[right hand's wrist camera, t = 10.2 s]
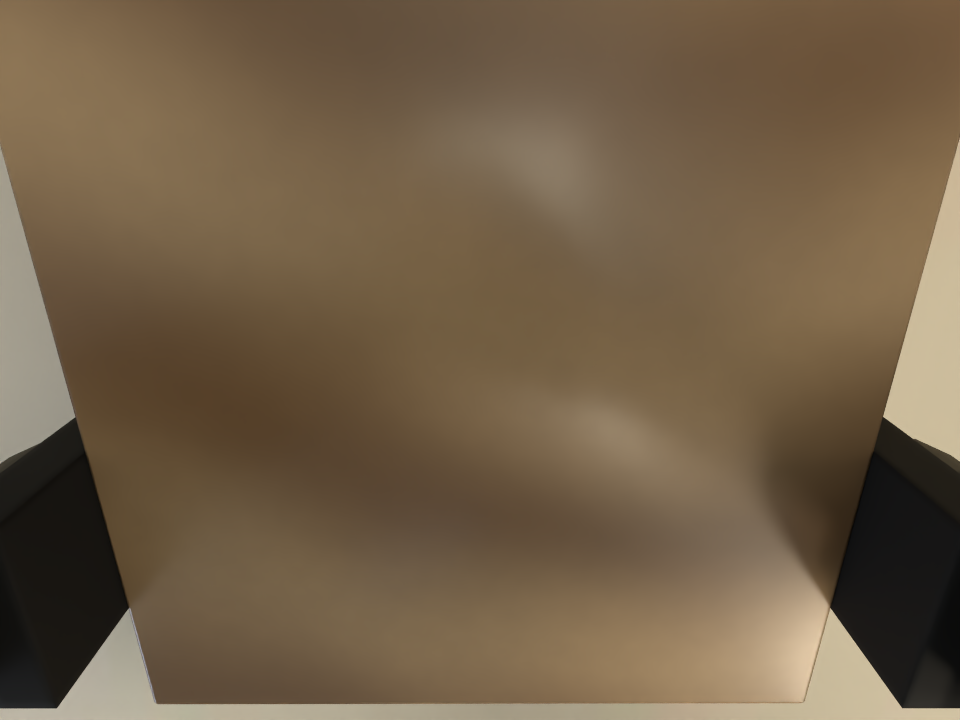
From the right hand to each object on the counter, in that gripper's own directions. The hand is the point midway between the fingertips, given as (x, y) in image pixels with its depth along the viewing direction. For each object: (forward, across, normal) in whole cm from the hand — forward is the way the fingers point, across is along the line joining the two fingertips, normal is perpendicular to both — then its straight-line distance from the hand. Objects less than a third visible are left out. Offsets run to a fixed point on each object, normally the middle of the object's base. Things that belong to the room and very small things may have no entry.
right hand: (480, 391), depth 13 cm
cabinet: (+5, 0, -7) cm, 8 cm away
